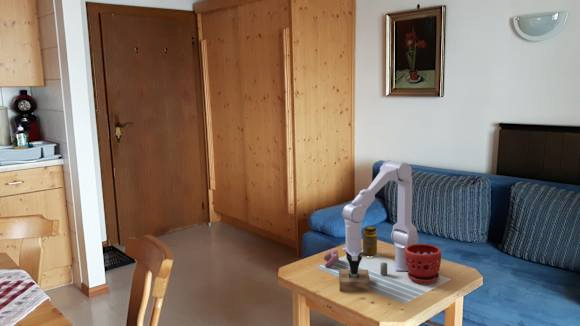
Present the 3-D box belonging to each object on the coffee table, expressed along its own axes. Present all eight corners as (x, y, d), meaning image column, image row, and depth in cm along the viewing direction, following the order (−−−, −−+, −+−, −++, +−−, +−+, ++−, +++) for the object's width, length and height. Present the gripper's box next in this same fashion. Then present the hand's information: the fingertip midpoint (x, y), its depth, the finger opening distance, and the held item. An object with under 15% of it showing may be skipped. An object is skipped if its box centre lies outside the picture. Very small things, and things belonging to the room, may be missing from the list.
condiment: (381, 253, 210) (381, 227, 208) (369, 259, 204) (369, 231, 202) (367, 249, 215) (366, 223, 213) (355, 255, 209) (355, 228, 207)
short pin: (386, 273, 189) (386, 262, 188) (387, 276, 186) (387, 264, 186) (380, 273, 189) (380, 262, 188) (380, 276, 186) (380, 264, 186)
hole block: (367, 278, 185) (367, 269, 184) (370, 290, 174) (370, 281, 173) (338, 278, 186) (338, 269, 185) (339, 291, 175) (339, 281, 174)
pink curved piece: (334, 271, 196) (341, 256, 195) (324, 267, 196) (331, 252, 195) (332, 262, 206) (339, 248, 205) (322, 258, 206) (329, 244, 205)
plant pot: (447, 277, 183) (447, 247, 180) (429, 289, 174) (429, 257, 171) (416, 269, 192) (416, 240, 190) (398, 279, 183) (398, 249, 181)
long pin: (357, 279, 181) (357, 259, 179) (357, 282, 178) (357, 261, 177) (350, 279, 181) (350, 259, 179) (350, 282, 178) (350, 262, 177)
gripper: (341, 230, 184) (342, 264, 186) (343, 243, 170) (343, 280, 172) (360, 230, 183) (360, 264, 186) (363, 243, 169) (363, 280, 172)
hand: (353, 272), depth 179 cm, fingers closed on long pin, 3 cm apart
